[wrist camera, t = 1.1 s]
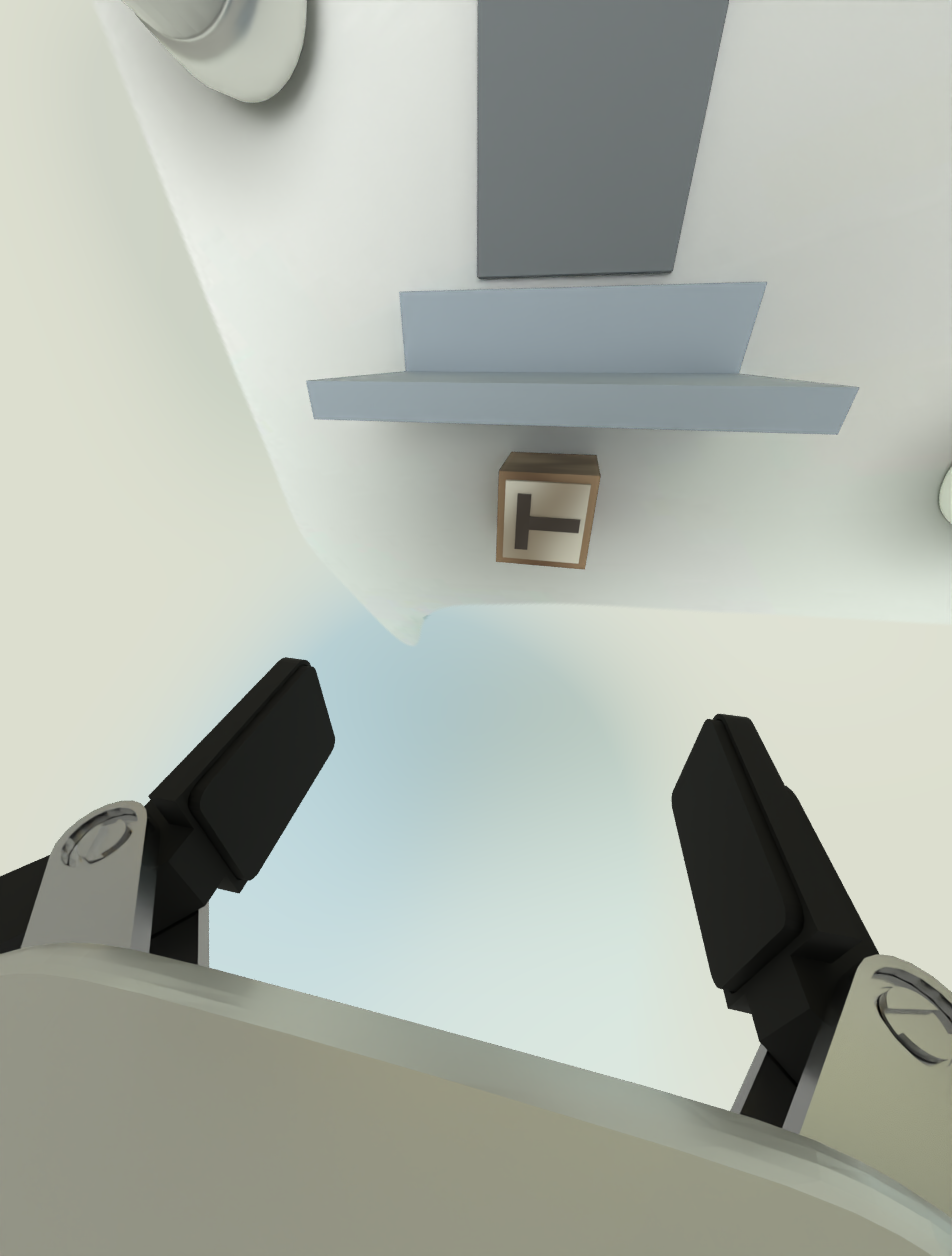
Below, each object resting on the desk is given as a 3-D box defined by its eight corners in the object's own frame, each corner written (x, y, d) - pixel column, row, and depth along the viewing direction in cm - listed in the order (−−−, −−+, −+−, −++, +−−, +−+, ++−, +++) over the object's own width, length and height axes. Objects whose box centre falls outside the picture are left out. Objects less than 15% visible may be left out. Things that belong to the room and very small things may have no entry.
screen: (760, 284, 18) (939, 216, 9) (724, 400, 21) (837, 434, 12) (404, 293, 21) (279, 248, 12) (412, 395, 24) (314, 419, 15)
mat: (743, -82, 13) (749, -99, 13) (670, 272, 19) (672, 270, 18) (481, -39, 15) (477, -52, 14) (479, 278, 20) (477, 276, 20)
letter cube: (596, 455, 23) (601, 477, 19) (583, 536, 26) (584, 571, 22) (511, 451, 24) (497, 472, 20) (507, 530, 27) (495, 563, 23)
